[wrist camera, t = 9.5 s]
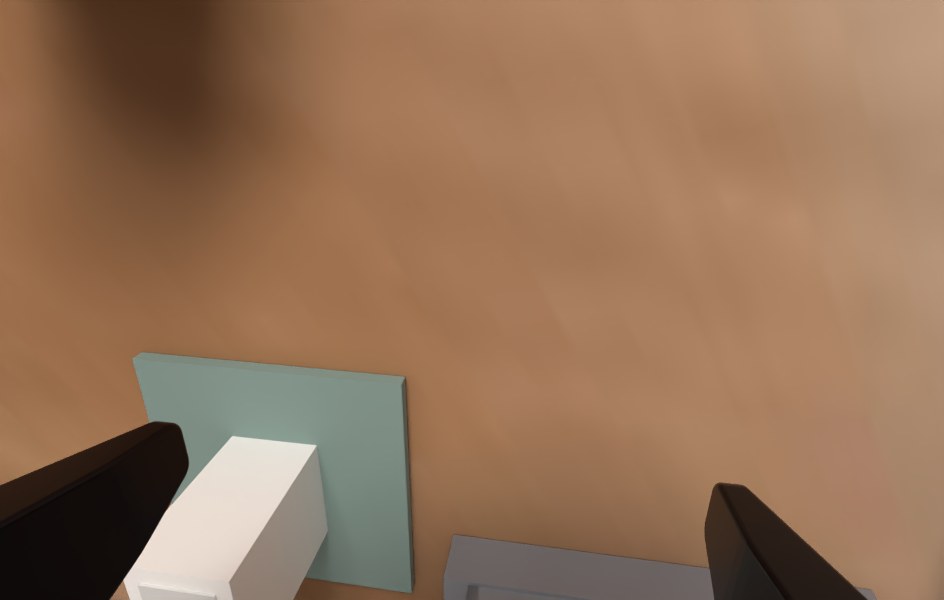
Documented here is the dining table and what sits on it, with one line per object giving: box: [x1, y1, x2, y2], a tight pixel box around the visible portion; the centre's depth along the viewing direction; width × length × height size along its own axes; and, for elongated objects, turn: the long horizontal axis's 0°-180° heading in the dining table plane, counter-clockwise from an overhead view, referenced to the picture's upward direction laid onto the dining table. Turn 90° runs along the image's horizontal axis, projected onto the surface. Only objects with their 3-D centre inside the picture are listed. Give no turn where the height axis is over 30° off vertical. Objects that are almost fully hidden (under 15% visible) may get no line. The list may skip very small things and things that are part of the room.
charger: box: [124, 436, 328, 600], centre depth 23 cm, size 4×5×7 cm
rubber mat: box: [133, 352, 415, 593], centre depth 26 cm, size 12×12×1 cm
